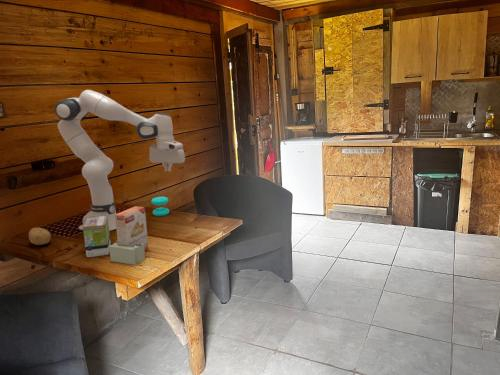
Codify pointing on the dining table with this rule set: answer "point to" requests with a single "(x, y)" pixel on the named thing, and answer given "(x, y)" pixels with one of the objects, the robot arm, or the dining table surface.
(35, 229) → the potato
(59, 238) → the dining table surface
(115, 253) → the pale green block
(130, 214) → the cracker box
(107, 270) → the dining table surface
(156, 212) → the donuts
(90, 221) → the tea box
